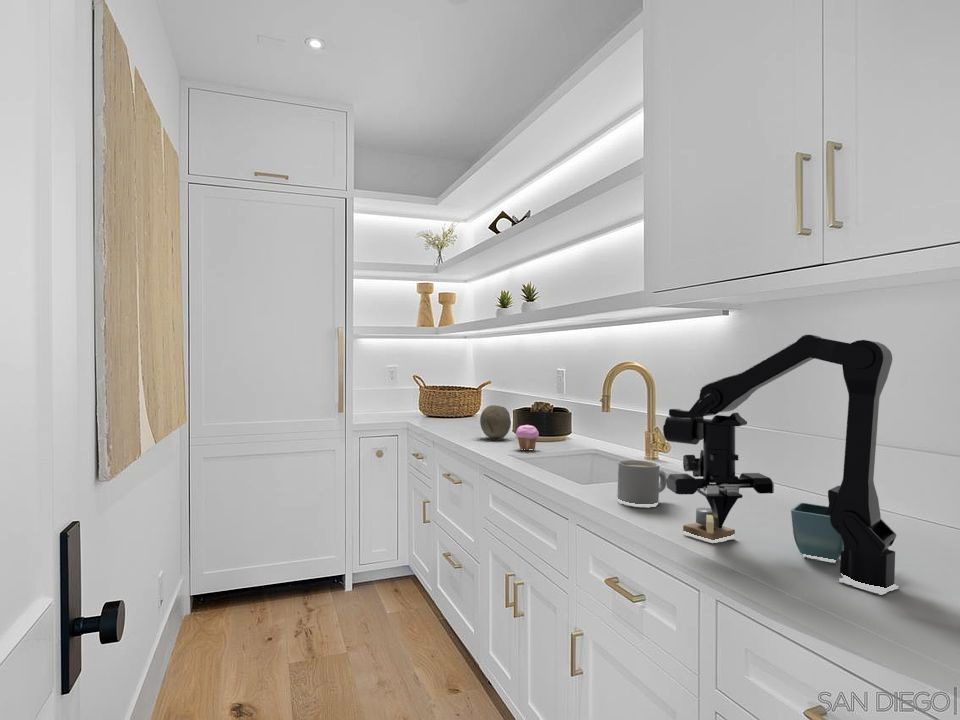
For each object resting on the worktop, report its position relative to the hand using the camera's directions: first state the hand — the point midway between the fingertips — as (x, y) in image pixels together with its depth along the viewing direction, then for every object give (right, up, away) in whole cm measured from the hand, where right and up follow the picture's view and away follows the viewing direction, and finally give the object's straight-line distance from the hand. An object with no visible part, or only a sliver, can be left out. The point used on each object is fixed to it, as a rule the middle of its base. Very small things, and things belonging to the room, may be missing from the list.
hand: (719, 527), depth 111 cm
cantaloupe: (-40, -3, +141) cm, 147 cm away
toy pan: (-1, -1, +3) cm, 3 cm away
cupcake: (-28, -3, +113) cm, 117 cm away
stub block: (0, -4, +6) cm, 7 cm away
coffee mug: (-5, -4, +33) cm, 34 cm away
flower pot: (+17, -4, -5) cm, 18 cm away
